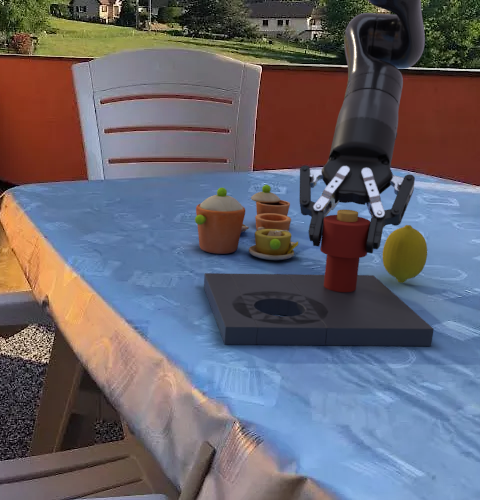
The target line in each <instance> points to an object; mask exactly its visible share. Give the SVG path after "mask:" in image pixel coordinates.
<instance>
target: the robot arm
mask: <svg viewBox="0 0 480 500" xmlns="http://www.w3.org/2000/svg"><path fill="white" fill-rule="evenodd" d="M367 2H368V3H370V4H371V5H373V6H375V7H376V8H380V9H382V10H385V11H388V12H390V13H391V14H390V13H377V12H363V13H359V14H357V15H356V16H354V17H353V18H352V19H351V20H350V21H349V23H347V26H346V28H345V31H344V38H343V45H344V46H343V47H344V54H345V59H346V64H347V83H346V89H345V93H344V98H343V102H342V105H341V107H340V110H339V112H338V116H337V119H336V124H335V128H334V134H333V138H332V140H331V147H330V150H329V155H328V159H327V162H326V163H325V164H324V165H323V166H322V168H315V169H313V168H312V169H311V168H310V166H309V165H306V164H305V165H301V167H299V207H300V213H301V215H303V216H309V217H311V218H310V223H309V226H308V231H307V232H308V238H309V241H310V242H312V246H313V247H321V240H322V230H323V220H324V217H326V216H328V215H329V214H330V212H331V211H334V209H335V208H336V207H337V206H338V205H339V203H342V204H343V203H344V204H348V203H349V204H350V203H354V204H357V205H361V206H366V209H367V211H368V214H369V215H370V217H371V218H370V227H369V233H368V238H367V244H366V253H367V254H373V252H374V250H379V248H380V246H381V242H382V236H383V231H384V228H385V227H386V226H388V225H392V226H394V227H395V226H400V225H401V223H402V220H403V218H404V216H405V214H406V211H407V208H408V206H409V204H410V201H411V198H412V196H413V194H414V189H415V182H416V181H415V180H416V179H415V178H416V177H415V175H413V174H406V175H404V177H403V176H399V175H395V174H393V171H392V170H391V169H392V168H391V166H392V160H393V155H394V151H395V145H396V144H395V143H396V139H397V138H398V137H397V136H398V126H399V109H400V103H401V98H402V93H403V86H404V79H403V74H402V72H401V71H400V70H404V69H409V68H411V67H413V66H414V65H416V63H417V62H418V61H419V60H420V59H421V57H422V55H423V52H424V49H425V42H426V37H425V35H426V34H425V26H424V19H423V13H422V0H367ZM392 13H393V14H392ZM320 180H322V181H323V183H324V184H325V188H324V189H323V190H322V193H321V195H320V197H319V198H317V200H316V202H315V201H312V189H314V188H315V187H316V186H317V185H318V182H319V181H320ZM391 186H392V187H393V193H394V194H395V195H396V196H395V199H394V201H393V203H392V206H391V208H388V209H384V206H383V202H382V199H381V194H383V193H384V192H385V191H386V190H387V189H388V188H390V187H391Z"/></svg>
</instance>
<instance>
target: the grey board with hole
mask: <svg viewBox="0 0 480 500" xmlns="http://www.w3.org/2000/svg"><path fill="white" fill-rule="evenodd" d="M324 278H325V274H302V273H301V274H296V273H295V274H294V273H293V274H292V273H288V274H287V273H282V274H281V273H225V272H224V273H221V272H219V273H217V272H215V273H213V272H208V273H207V272H205V273H204V278H203V290H204V292H205V296H206V298H207V300H208V303H209V306H210V309H211V311H212V314H213V316H214V320H215V322H216V325H217V328H218V330H219V333H220V336H221V339H222V341H223V343H224V345H235V346H236V345H237V346H238V345H241V346H243V345H245V346H253V345H254V346H255V345H259V346H260V345H261V346H263V345H268V346H373V347H377V346H379V347H381V346H383V347H387V346H388V347H394V346H395V347H432V343H433V337H434V327H432V325H430V324H429V323H428V322H427V321H426V320H424V319H423V318H422V317H421V316H420V315H419V314H418V313H417V312H415V311H414V310H413V309H412V308H411V307H410V306H409V305H408V304H407V303H405V302H404V301H403V299H401V298H400V297H399V296H397V294H396V293H394V292H393V291H392V290H391V289H390V288H388V286H386V285H385V284H384V283H383V282H382V281H381V280H380V279H378V278H377V277H376V276H375V275H373V274H358V275H357V284H356V290H355V291H352V292H336V291H332V290H329V289H327V288H325V287H324Z"/></svg>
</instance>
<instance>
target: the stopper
mask: <svg viewBox="0 0 480 500" xmlns="http://www.w3.org/2000/svg"><path fill="white" fill-rule="evenodd" d="M336 211H337V212H336V214H330V215H329V214H328V215H327V216H326V217H324V220H323V230H322V237H321V242H320V252H321V253H323V254H325V255H326V260H325V270H324V275H325V278H324V287H325V288H327V289H329V290H332V291H336V292H352V291H355V290H356V284H357V275H359V265H360V259H361V258H365V257H366V256H367V255H368V253H366V244H367V238H368V233H369V227H370V222H371V220H369V219H368V218H365V217H361V216H359V211H358V210H353V209H338V210H336Z"/></svg>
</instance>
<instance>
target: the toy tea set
mask: <svg viewBox="0 0 480 500" xmlns="http://www.w3.org/2000/svg"><path fill="white" fill-rule="evenodd" d="M261 190H262V191H258V192H256V193H254V194H253V195H251V197H250V199H251V201H253V202H255V208H256V215H255V217H254V218H255V219H254V220H255V232H254V243H255V244H254V245H253V244H252V245H251V246H249V248H248V252H249V254H250V255H251V256H254V257H256V258H258V259H261V260H267V261H282V260H287V259H291V258H293V257H294V256H295V251H294V249H295V248H296V247H298V246H299V241H295V242H294V241H292V233H291V232H290V226H291V222H292V217H290V216H288V215H289V211H290V206H291V202H289V201H287V200H284V199H281V198H280V197H279V196H278V195H277V194H275V193H274V192H271V190H272V188H271V185H269V184H264V185H263V186H262V187H261ZM227 194H228V190H227V188H226V187H219V188H218V189H217V190H216V194H214V195H211V196H209V197H207V198H206V199H204V200H203V201H202V202H201V203H198V204H197V205H196V207H195V215H196V216H195V218H194V222H195V223H196V226H197V235H198V244H199V248H200V250H201V251H203V252H206V253H209V254H216V255H226V254H232V253H235V252H236V251H237V250H238V247H239V243H240V239H241V235H242V233H244V232H246V231H247V230H249V229H250V227H249V226H248V225H246V224H244V221H245V220H244V219H245V215H246V208H245V207H244V205H242V203H240V202H239V201H238V200H237V198H235V197H233V196H231V195H227Z"/></svg>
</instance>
